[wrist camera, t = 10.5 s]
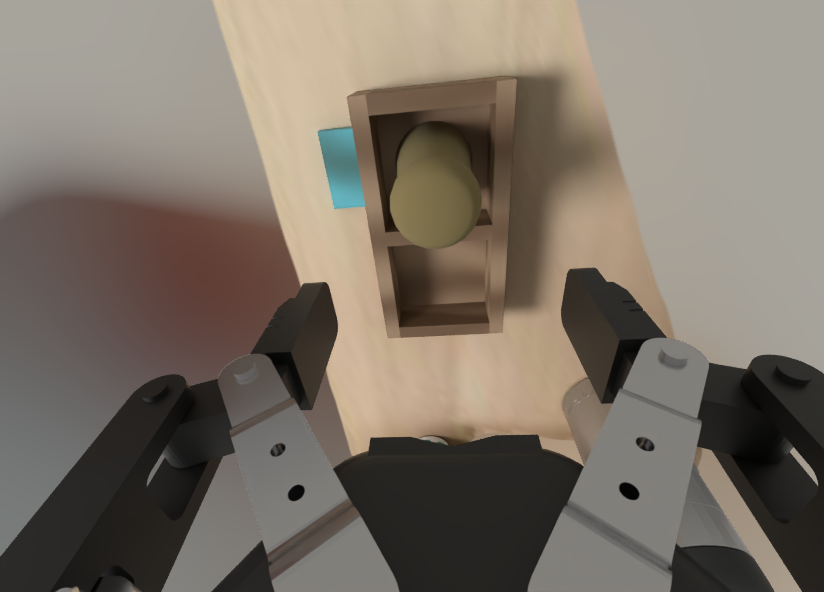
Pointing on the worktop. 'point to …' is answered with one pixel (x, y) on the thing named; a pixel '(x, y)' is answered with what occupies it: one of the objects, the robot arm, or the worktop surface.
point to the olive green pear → (435, 186)
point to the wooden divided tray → (373, 182)
